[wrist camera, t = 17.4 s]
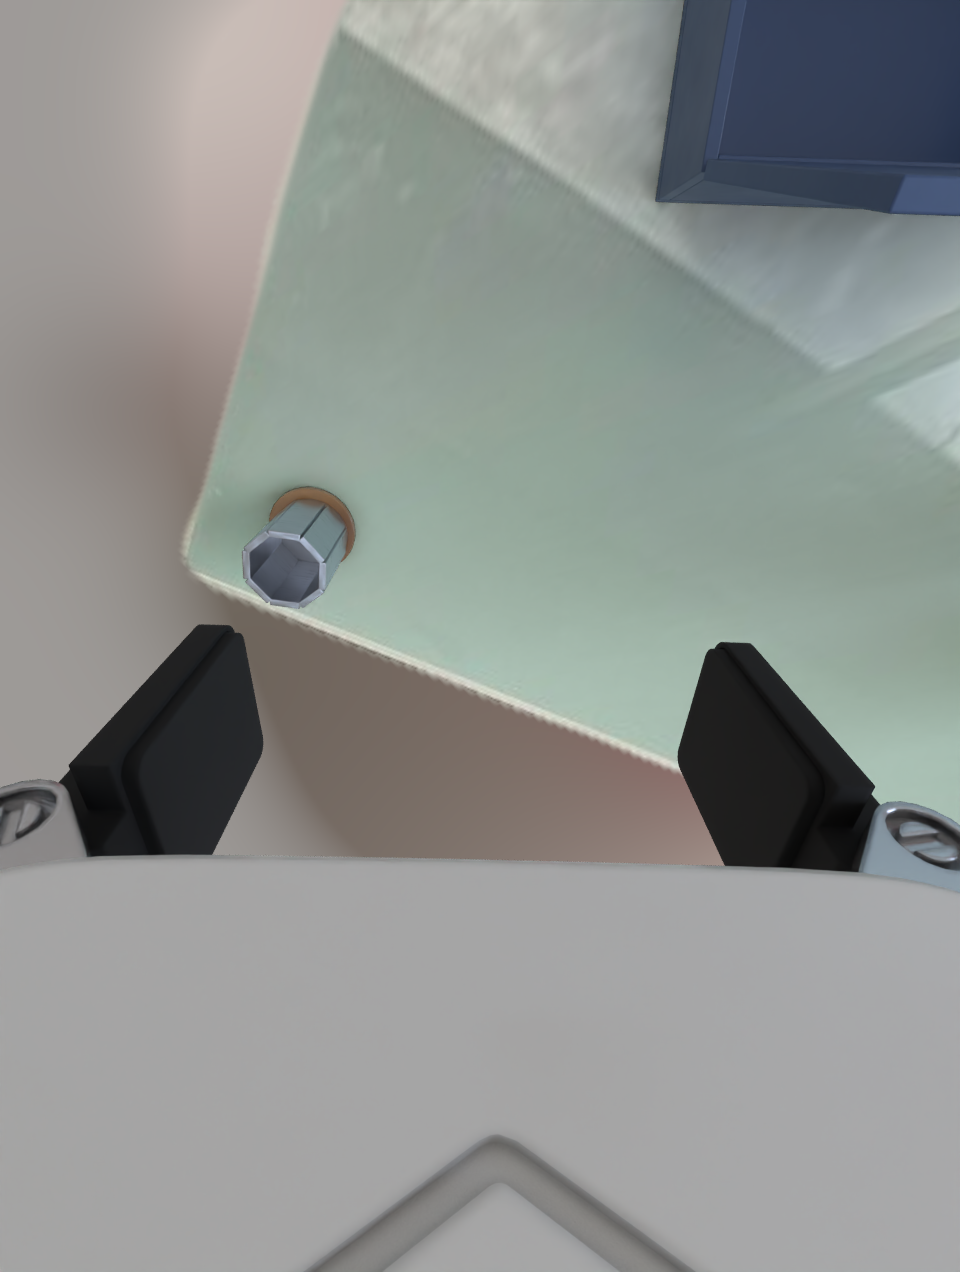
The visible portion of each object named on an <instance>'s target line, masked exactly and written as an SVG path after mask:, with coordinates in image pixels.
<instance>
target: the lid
mask: <svg viewBox="0 0 960 1272" xmlns="http://www.w3.org/2000/svg"><path fill="white" fill-rule="evenodd" d="M703 180H704V181H707V182H713V183H718V184H724V185H730V186H735V187H741V188H747V189H752V190H758V191H764V192H769V193H775V194H781V195H786V196H792V197H798V198H803V199H809V200H815V201H820V202H826V203H832V204H837V205H843V206H849V207H855V208H860V209H866V210H872V211H877V212H883V213H889V214H913V215H943V216H960V168H959V167H931V166H903V165H875V164H847V163H819V162H791V161H763V160H735V159H708V161H707V165H706V170H705V174H704V178H703Z"/></svg>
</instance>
